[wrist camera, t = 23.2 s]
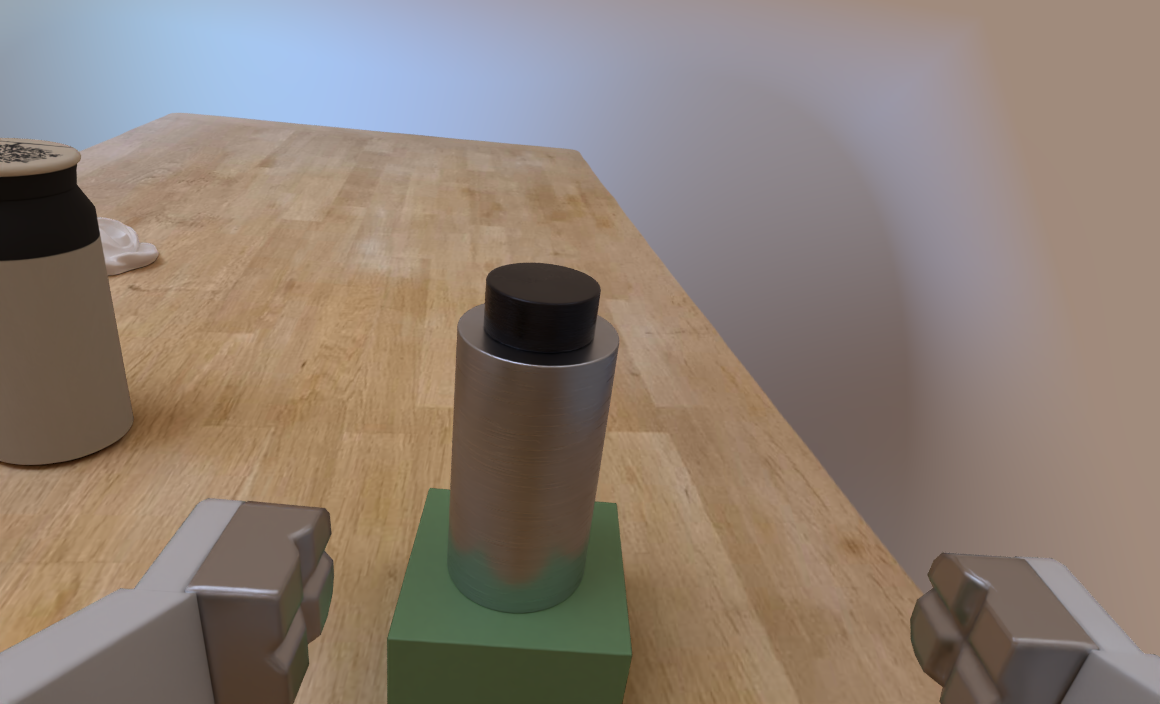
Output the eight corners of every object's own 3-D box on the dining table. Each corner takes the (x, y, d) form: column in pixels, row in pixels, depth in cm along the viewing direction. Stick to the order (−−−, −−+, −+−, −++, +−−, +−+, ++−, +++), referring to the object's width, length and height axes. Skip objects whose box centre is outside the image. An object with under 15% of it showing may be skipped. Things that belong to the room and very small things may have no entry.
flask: (583, 522, 37) (621, 263, 30) (585, 619, 31) (632, 323, 25) (457, 512, 36) (470, 247, 30) (436, 608, 30) (447, 304, 24)
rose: (49, 204, 73) (159, 205, 76) (58, 245, 75) (165, 244, 78) (23, 234, 64) (147, 233, 68) (34, 280, 66) (154, 277, 70)
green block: (604, 573, 41) (616, 502, 38) (616, 735, 32) (632, 655, 29) (427, 559, 40) (429, 487, 38) (387, 722, 31) (386, 638, 29)
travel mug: (82, 477, 43) (13, 176, 35) (-51, 460, 43) (-149, 155, 35) (159, 410, 50) (116, 147, 42) (45, 396, 50) (-19, 130, 42)
